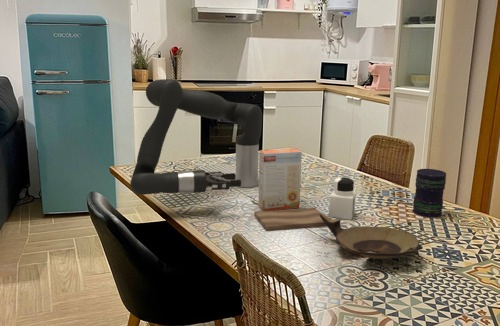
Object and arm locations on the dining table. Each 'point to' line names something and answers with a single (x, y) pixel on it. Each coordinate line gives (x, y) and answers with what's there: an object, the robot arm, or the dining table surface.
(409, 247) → the oil lamp
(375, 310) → the dining table surface
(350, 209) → the container
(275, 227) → the walnut board
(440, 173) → the storage jar
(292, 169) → the cracker box
